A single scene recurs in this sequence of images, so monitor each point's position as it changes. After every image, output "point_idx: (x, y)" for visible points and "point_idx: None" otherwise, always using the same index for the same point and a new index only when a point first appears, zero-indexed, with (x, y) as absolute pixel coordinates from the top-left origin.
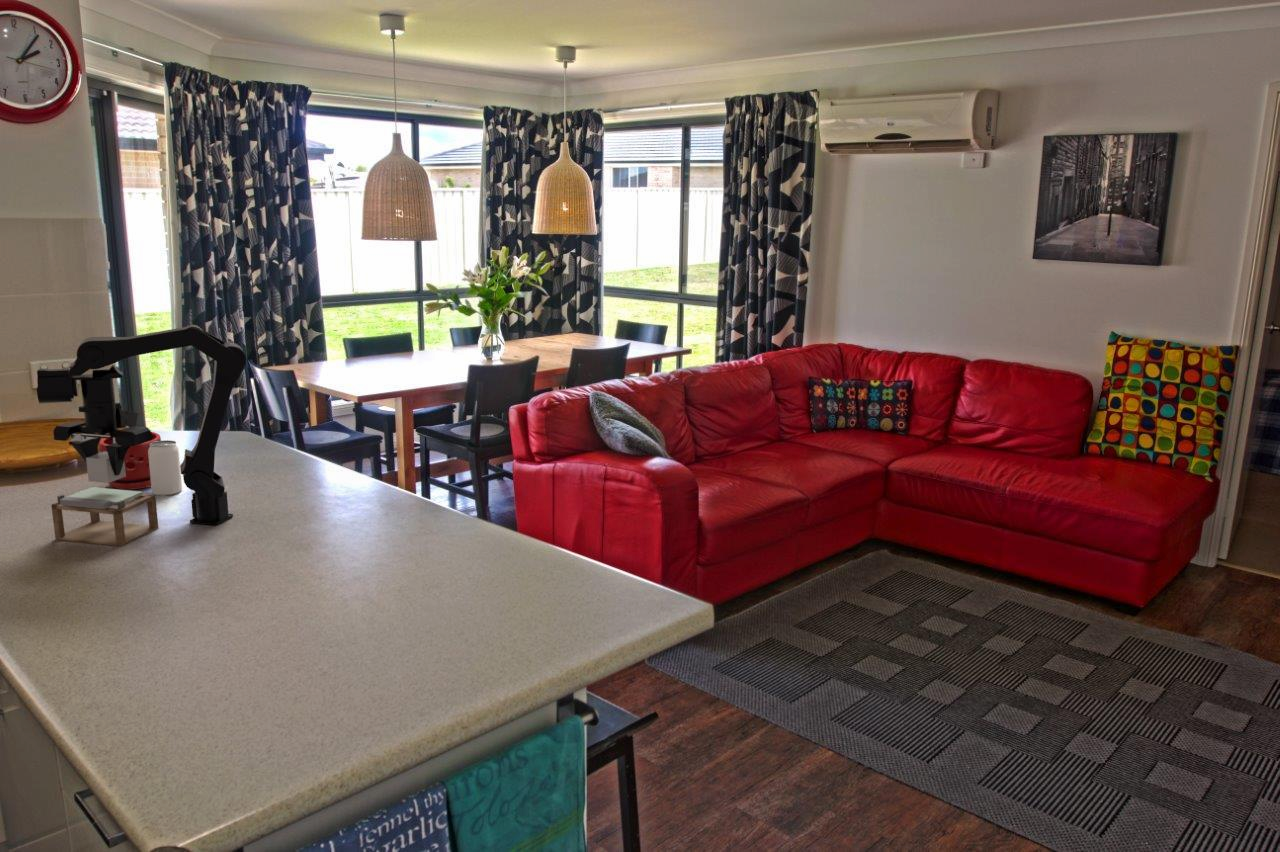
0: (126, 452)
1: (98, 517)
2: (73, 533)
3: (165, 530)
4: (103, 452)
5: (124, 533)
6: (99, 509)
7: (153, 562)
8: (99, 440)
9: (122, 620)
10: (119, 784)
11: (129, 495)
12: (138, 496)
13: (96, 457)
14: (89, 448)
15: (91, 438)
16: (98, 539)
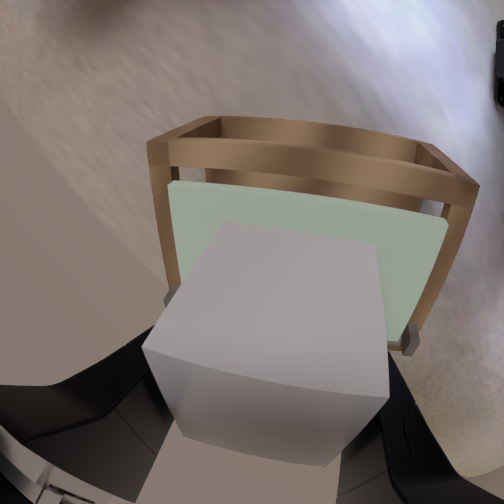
0: (439, 452)
1: (216, 124)
2: None
3: (457, 161)
4: (165, 371)
5: None
6: None
7: (473, 337)
8: (56, 434)
9: (453, 429)
10: (463, 474)
11: (412, 277)
12: (414, 195)
13: (236, 444)
14: (136, 452)
15: (67, 479)
16: None
